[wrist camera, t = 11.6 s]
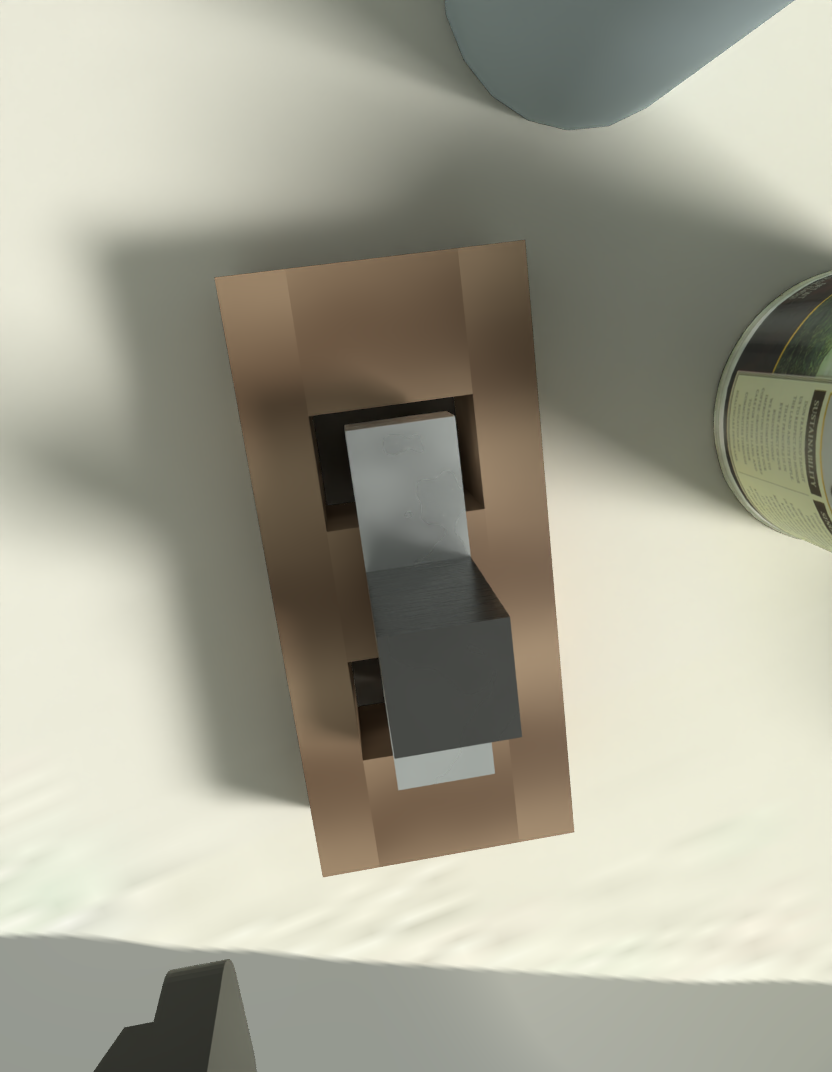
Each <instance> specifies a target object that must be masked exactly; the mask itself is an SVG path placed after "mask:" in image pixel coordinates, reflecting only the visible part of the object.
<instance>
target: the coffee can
mask: <svg viewBox="0 0 832 1072" xmlns="http://www.w3.org/2000/svg"><path fill="white" fill-rule="evenodd" d="M714 436H715V445H716V450H717V455H718V459H719V463H720V466H721V469H722V472H723V475H724V478H725V480H726V482H727V483H728V485H729V487H730V488H731V490H732V491H733V493H734V494H735V495H736V497H737V499H738V500H739V501H740V503H741V504H742V505H743V506H744V507H745V508H746V509H747V510H748V511H749V512H750V513H751V514H752V515H753V516H754V517H755V518H756V519H758V520H759V521H761V522H762V523H764V524H765V525H767V526H769V527H770V528H772V529H774V530H776V531H778V532H780V533H783V534H785V535H788V536H791V537H793V538H796V539H802V540H805V541H807V542H809V543H812V544H814V545H816V546H819V547H821V548H823V549H826V550H828V551H830V552H832V271H829V272H825V273H822V274H819V275H816V276H814V277H811V278H809V279H807V280H805V281H803V282H800V283H798V284H796V285H795V286H793V287H792V288H790V289H788V290H787V291H786V292H784V293H783V294H782V295H780V296H779V297H777V298H776V299H775V300H774V301H772V302H771V303H770V304H769V305H768V306H767V307H766V308H765V309H764V310H763V311H762V312H761V313H760V314H759V315H758V316H757V317H756V318H755V319H754V320H753V322H752V323H751V324H750V325H749V326H748V328H747V329H746V330H745V332H744V333H743V335H742V336H741V338H740V339H739V341H738V342H737V344H736V346H735V347H734V349H733V351H732V353H731V355H730V357H729V359H728V361H727V364H726V366H725V368H724V370H723V374H722V376H721V379H720V382H719V386H718V391H717V397H716V402H715V410H714Z"/></svg>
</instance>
